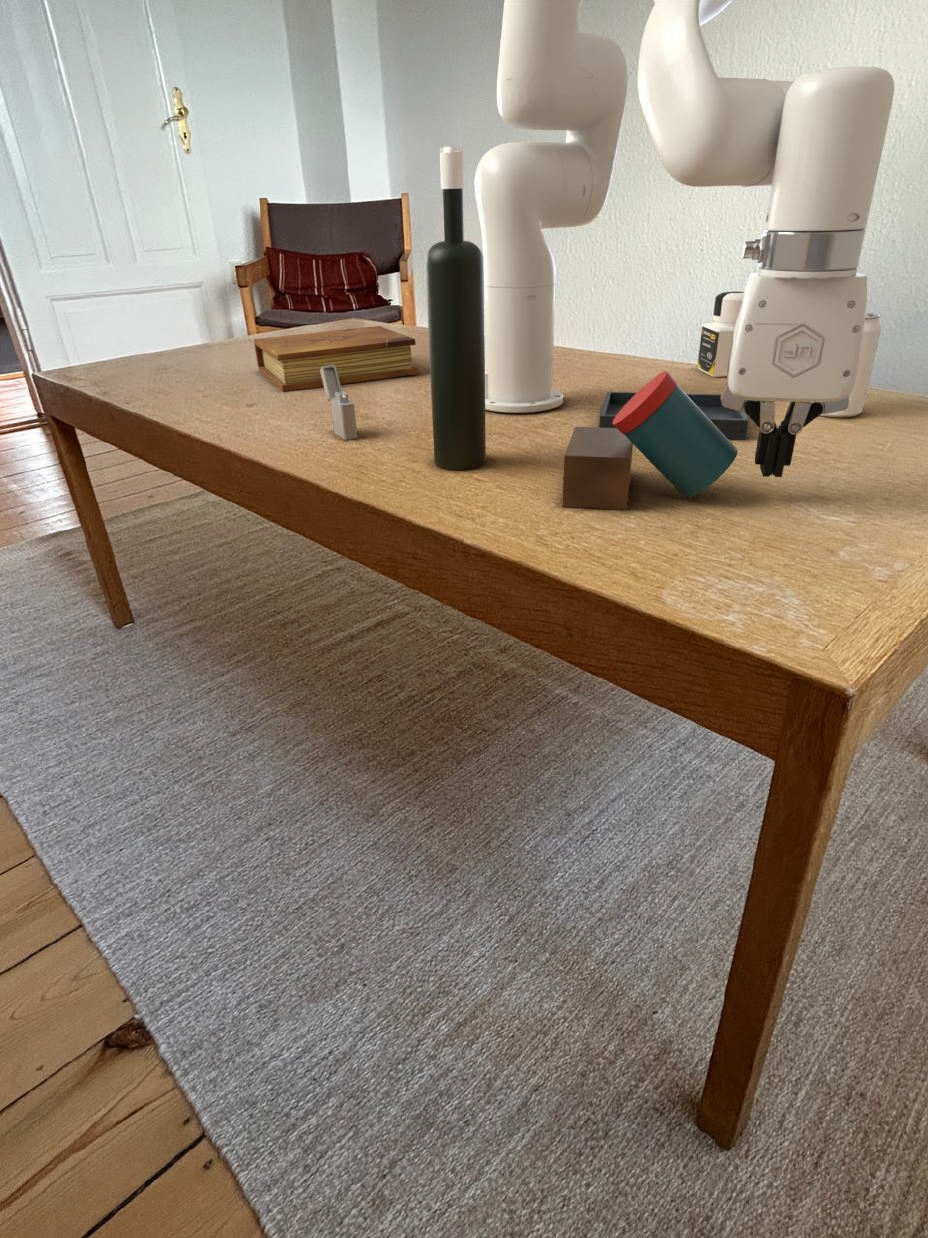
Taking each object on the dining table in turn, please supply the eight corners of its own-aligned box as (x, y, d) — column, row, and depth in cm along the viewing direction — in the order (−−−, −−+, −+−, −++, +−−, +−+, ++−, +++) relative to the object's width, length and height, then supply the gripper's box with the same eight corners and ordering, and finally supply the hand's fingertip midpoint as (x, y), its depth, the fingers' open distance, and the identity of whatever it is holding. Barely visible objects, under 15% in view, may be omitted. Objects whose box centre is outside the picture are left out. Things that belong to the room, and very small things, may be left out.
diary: (380, 357, 141) (378, 325, 139) (417, 375, 127) (415, 338, 124) (258, 371, 133) (253, 337, 130) (282, 391, 118) (277, 353, 116)
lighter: (358, 437, 94) (351, 371, 90) (344, 439, 93) (337, 373, 89) (338, 425, 99) (332, 362, 96) (326, 427, 99) (319, 364, 95)
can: (867, 419, 95) (891, 318, 89) (812, 417, 96) (832, 318, 91) (854, 406, 101) (876, 311, 95) (803, 405, 102) (821, 311, 96)
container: (607, 503, 72) (613, 379, 66) (611, 481, 77) (616, 365, 72) (734, 508, 69) (751, 379, 64) (728, 484, 75) (744, 364, 69)
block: (562, 506, 71) (564, 455, 69) (572, 473, 80) (575, 426, 77) (626, 510, 70) (630, 458, 68) (630, 476, 78) (634, 428, 76)
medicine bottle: (696, 368, 125) (705, 290, 119) (737, 366, 126) (749, 288, 120) (712, 377, 119) (723, 295, 113) (756, 375, 119) (768, 293, 114)
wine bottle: (436, 454, 87) (422, 149, 72) (486, 454, 86) (482, 147, 72) (432, 470, 82) (417, 145, 67) (485, 470, 81) (481, 143, 67)
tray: (598, 434, 92) (599, 415, 91) (605, 408, 104) (606, 391, 102) (745, 439, 89) (748, 420, 88) (736, 412, 100) (738, 394, 99)
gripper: (716, 259, 60) (689, 481, 69) (923, 257, 57) (866, 490, 66) (711, 253, 66) (686, 457, 75) (897, 251, 63) (847, 463, 72)
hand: (770, 471), depth 70 cm, fingers closed
